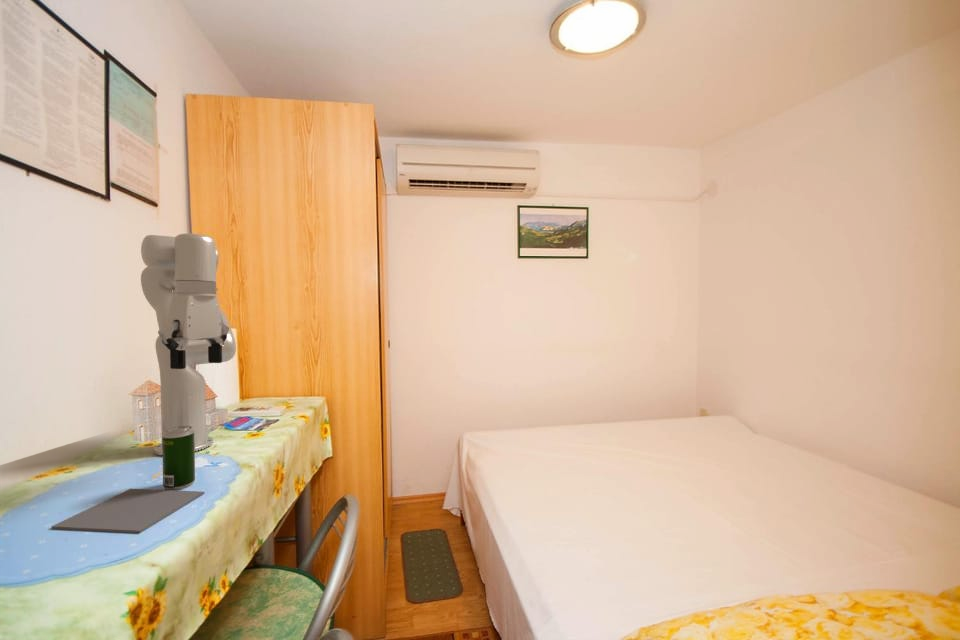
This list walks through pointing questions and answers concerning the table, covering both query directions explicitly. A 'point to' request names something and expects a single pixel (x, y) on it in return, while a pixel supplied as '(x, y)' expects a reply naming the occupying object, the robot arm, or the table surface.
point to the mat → (130, 511)
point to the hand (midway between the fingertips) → (197, 365)
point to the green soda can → (178, 457)
